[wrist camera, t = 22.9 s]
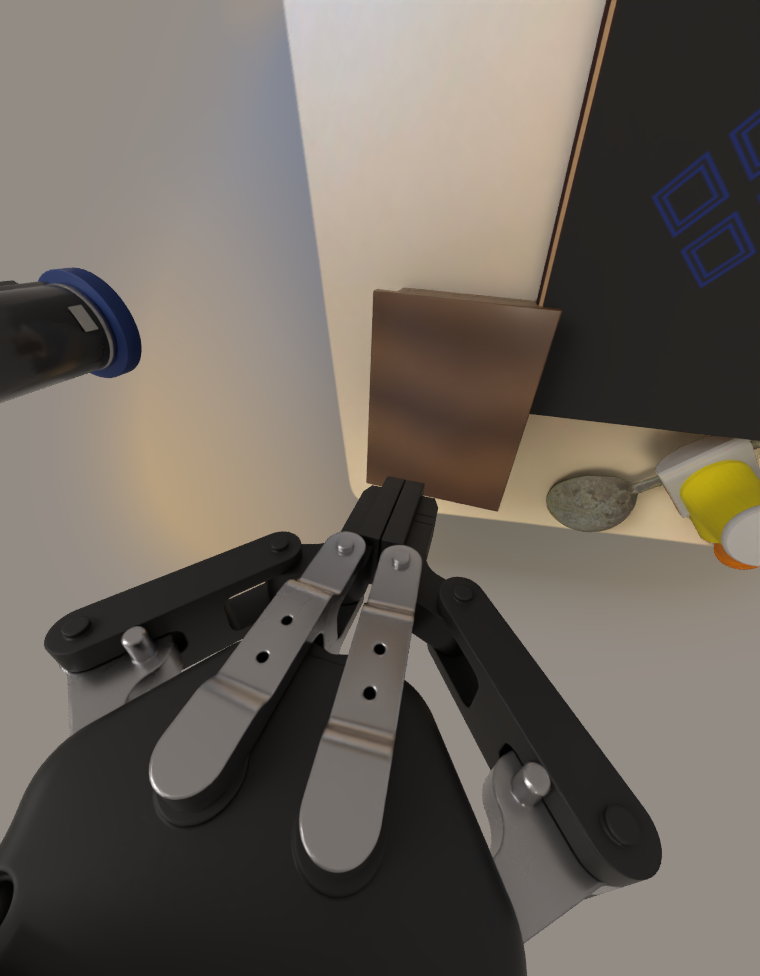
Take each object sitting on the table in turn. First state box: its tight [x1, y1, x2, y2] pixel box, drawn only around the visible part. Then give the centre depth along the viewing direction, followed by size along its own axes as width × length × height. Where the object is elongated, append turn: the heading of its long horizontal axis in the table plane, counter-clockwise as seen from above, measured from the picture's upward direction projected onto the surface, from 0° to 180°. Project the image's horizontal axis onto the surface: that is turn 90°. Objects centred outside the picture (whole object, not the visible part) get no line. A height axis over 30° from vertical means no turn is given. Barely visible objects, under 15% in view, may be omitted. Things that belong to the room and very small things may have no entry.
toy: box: [656, 435, 760, 570], centre depth 28 cm, size 5×15×10 cm, turn 43°
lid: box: [366, 289, 562, 511], centre depth 27 cm, size 15×12×1 cm
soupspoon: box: [547, 440, 760, 532], centre depth 32 cm, size 22×3×7 cm
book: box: [529, 0, 760, 441], centre depth 20 cm, size 17×25×7 cm
